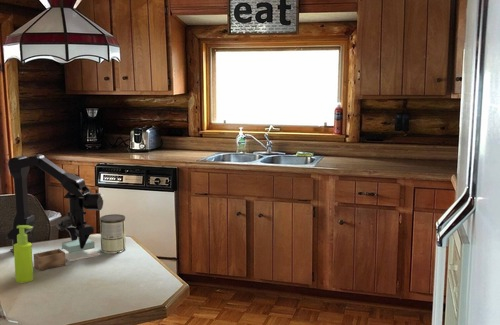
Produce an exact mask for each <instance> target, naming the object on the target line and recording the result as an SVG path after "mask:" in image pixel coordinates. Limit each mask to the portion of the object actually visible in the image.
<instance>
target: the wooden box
mask: <svg viewBox="0 0 500 325" xmlns="http://www.w3.org/2000/svg"><path fill="white" fill-rule="evenodd" d="M32 257H33V268H35V269H37V270H38V271H39V272H40V271H45V270H50V269H54V268H59V267H64V266H66V264H67V262H66V261H67V260H66V259H65V252H63V249H60V248H56V249H52V250H51V249H50V250H47V251H40V252H36V253H32Z"/></svg>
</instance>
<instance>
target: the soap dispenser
mask: <svg viewBox="0 0 500 325" xmlns="http://www.w3.org/2000/svg"><path fill="white" fill-rule="evenodd" d="M17 228H19V234H18V235H17V243H16V244H14V253H13V254H14V255H13V256H14V257H13V259H14V260H13V261H14V273H15V275H14V276H15V282H16V283H19V284H20V283H22V284H23V283H28V282H32V281H33V280H34V261H33V247H32V243H31V242H29V241H28V235H27V234H25V232H24V228H26V229H31V228H33V227H32V226H29V225H19V226H17ZM33 229H34V228H33Z"/></svg>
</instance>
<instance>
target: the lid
mask: <svg viewBox="0 0 500 325" xmlns="http://www.w3.org/2000/svg"><path fill="white" fill-rule="evenodd" d="M88 249H93V250H94V249H95V241H93V240H92V239H90V238H88V239H87V241H86V244H85V246H84V248H83V249H81V248H80V244H79V238H77V240H73V241H72V240H70V241H63V242H61V250H64V251H68V252H69V253H73V252H78V251H83V250H88Z"/></svg>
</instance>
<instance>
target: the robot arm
mask: <svg viewBox="0 0 500 325" xmlns="http://www.w3.org/2000/svg"><path fill="white" fill-rule="evenodd" d="M7 165H8V171H9V173H10V175H11V176H12V178H13V185H14V186H13V187H14V188H13V189H14V198H15V200H14V201H15V215H14V217H13V220H12V221H13V222H12V229H11V230H9V232H8V233H7V234H6V236H7V237H8V240H11V242H12V248H11V249H9V251H10V252H11V253H13V254H14V244H16V243H17V235H18V234H19V228H17V226H19V225H29V226H32V227H33V228H31V229H26V228H24V232H25V234H27V236H29V235H30V234H31V232H32V230H33V229H34V227H35V225H36V222H35V214H31V213H30V211H29V210H30V208H29V207H30V206H29V196H28V194H29V193H28V180H27V177H28V175H29V171H30V167H32V166H36V167H38V168H39V169H41V170H42V171H43V172H45V173H46V174H48V175H50V176H51V177H52V178H54V180H57V181H58V182H59V183H60V184H61V187H62V188H63V189H64V190H65V191H67V193H66V194H65V195H64V196H63V197H62V198H63V199H68V208H69V210H68V211H67V212H66V215H65V216H63V217H60V218H59V219H57V220H55V221H54V224H55V226H56V229H57V230H59V231H65V230H66V231H67V232H68V234H69V236H70V241H73V240H78V239H79V244H80V248H81V249H83V248H84V246H85V244H86V241H87V239H89V238H90V237H91V236H90V235H91V234H94V232H95V227H94V226H92V225H90V224H88V223H87V221H86V220H85V215H87V210H88V211H101V210H102V209H103V207H104V200H103V196H102V194H101V192H96V193H95V192H92V191H91V190H90V188H89V187H88V186H87V185H86V182H85V179H83V177H81V176H78V175H76V174H72V173H70V172H67V171H66V170H65V169H62V167H60V166H59V165H57V164H55V163H54V162H52V161H51V160H49V159H48V158H47V157H45V155H43V154H41V153H39V154H35V155H30V156H26V155H18V156H15V157H12V158H10V159H9V160H8V162H7Z"/></svg>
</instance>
